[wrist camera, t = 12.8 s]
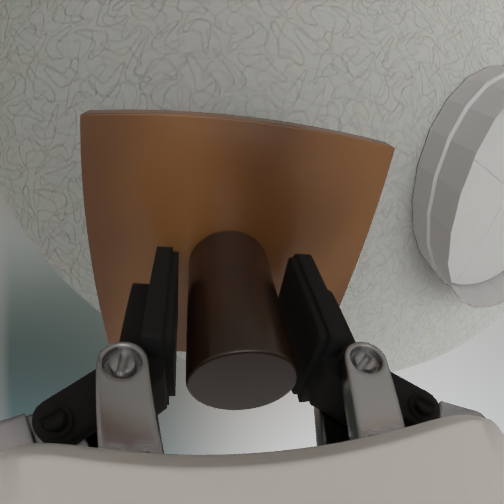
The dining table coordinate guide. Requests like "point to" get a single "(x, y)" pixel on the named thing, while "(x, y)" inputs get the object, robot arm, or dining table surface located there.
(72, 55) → the dining table surface
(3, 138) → the dining table surface
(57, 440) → the robot arm
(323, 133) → the square peg stand
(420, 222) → the dish
